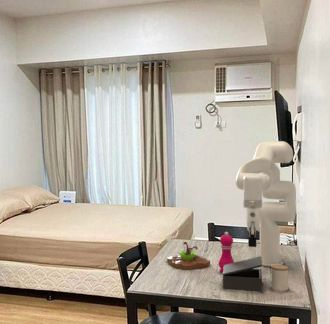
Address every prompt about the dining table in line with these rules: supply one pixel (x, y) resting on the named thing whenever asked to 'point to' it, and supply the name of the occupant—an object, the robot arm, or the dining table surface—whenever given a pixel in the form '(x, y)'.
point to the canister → (279, 277)
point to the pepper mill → (226, 251)
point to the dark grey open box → (244, 280)
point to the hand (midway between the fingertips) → (252, 246)
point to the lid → (242, 265)
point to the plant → (188, 259)
